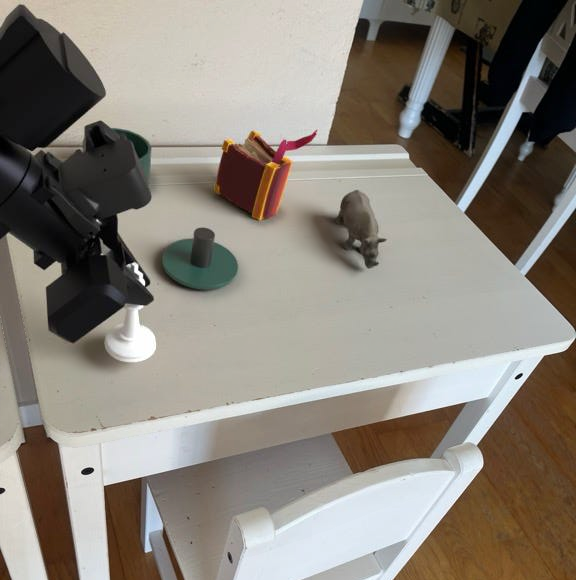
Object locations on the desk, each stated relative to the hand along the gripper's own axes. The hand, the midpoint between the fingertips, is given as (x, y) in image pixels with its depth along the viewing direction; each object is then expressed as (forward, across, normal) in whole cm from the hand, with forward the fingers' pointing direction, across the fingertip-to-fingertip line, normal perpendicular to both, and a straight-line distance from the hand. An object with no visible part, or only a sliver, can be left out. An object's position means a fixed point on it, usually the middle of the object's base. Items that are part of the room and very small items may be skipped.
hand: (148, 293), depth 57 cm
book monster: (+20, +29, -8) cm, 37 cm away
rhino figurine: (+28, +18, -16) cm, 36 cm away
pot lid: (+12, +14, 0) cm, 18 cm away
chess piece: (+4, 0, +6) cm, 7 cm away
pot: (+7, +33, +6) cm, 34 cm away
